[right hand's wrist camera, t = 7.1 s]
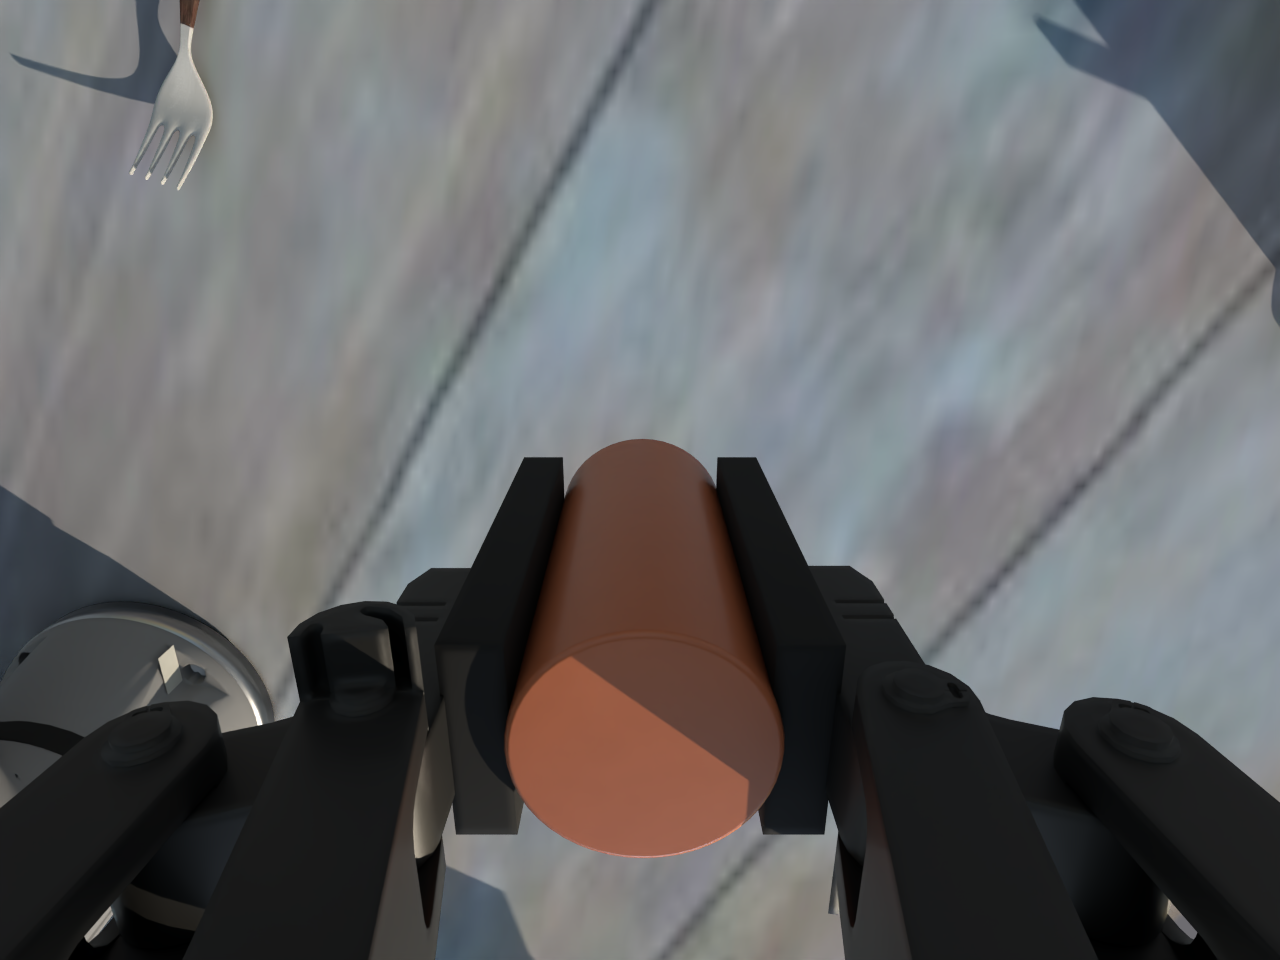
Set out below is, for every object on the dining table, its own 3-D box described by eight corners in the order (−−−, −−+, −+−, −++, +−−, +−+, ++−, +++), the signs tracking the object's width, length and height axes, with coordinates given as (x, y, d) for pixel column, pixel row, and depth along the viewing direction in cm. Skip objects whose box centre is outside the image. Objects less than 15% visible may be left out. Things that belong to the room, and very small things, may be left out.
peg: (566, 582, 15) (510, 860, 9) (561, 437, 14) (492, 632, 8) (717, 581, 15) (776, 861, 9) (723, 437, 14) (797, 632, 8)
